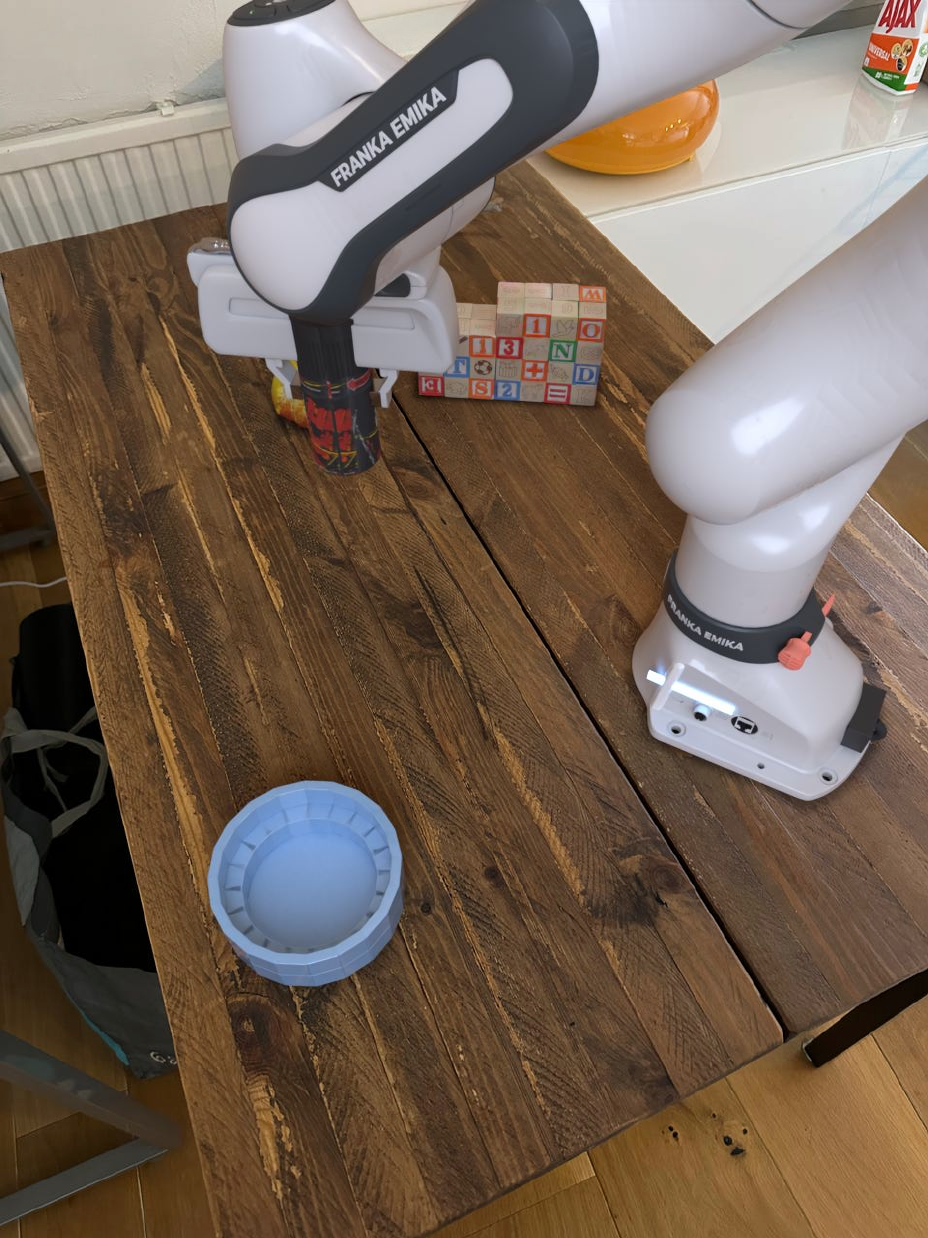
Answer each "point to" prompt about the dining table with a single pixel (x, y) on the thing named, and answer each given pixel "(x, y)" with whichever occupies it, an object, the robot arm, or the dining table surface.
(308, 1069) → the dining table surface
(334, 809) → the bowl
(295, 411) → the fruit
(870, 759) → the dining table surface
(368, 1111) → the dining table surface
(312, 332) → the deodorant
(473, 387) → the stack of blocks
